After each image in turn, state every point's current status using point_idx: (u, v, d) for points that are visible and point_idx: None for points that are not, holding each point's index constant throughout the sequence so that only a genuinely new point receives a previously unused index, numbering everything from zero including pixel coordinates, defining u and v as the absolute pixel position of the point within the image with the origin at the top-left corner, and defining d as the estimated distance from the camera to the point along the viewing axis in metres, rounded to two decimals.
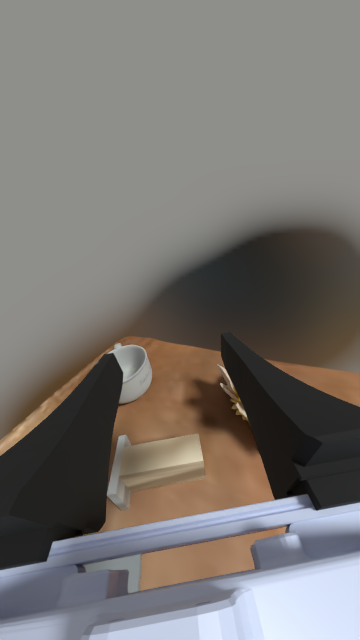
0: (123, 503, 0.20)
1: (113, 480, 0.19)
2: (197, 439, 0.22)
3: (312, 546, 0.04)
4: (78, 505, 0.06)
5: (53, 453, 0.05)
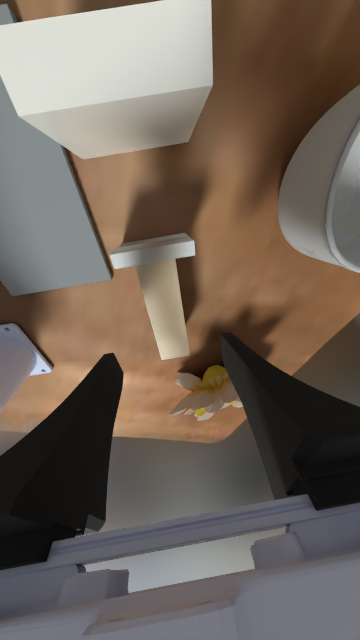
0: None
1: (128, 258, 0.12)
2: (182, 354, 0.18)
3: (312, 546, 0.04)
4: (78, 505, 0.06)
5: (53, 453, 0.05)
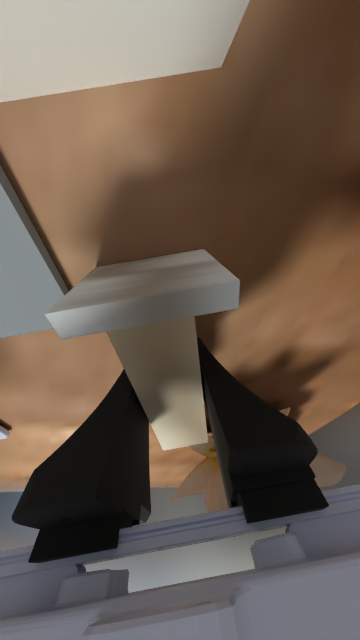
0: None
1: (89, 320, 0.05)
2: (197, 442, 0.11)
3: (312, 546, 0.04)
4: (134, 495, 0.06)
5: (115, 442, 0.05)
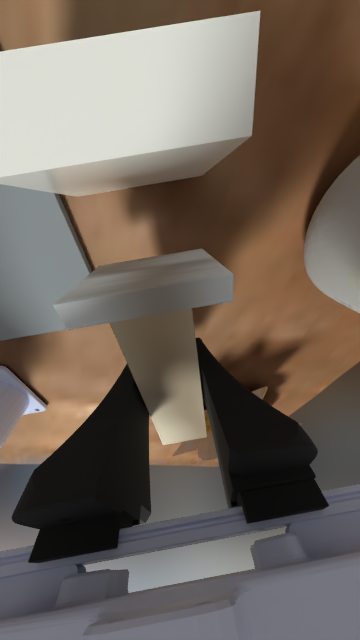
0: None
1: (94, 311, 0.06)
2: (196, 436, 0.11)
3: (312, 546, 0.04)
4: (134, 495, 0.06)
5: (115, 442, 0.05)
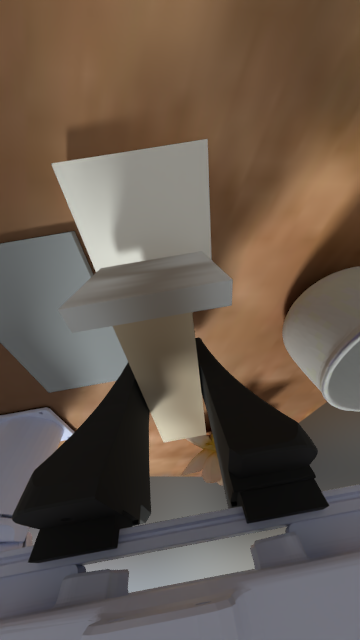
0: None
1: (97, 315, 0.06)
2: (196, 434, 0.12)
3: (312, 546, 0.04)
4: (134, 495, 0.06)
5: (115, 442, 0.05)
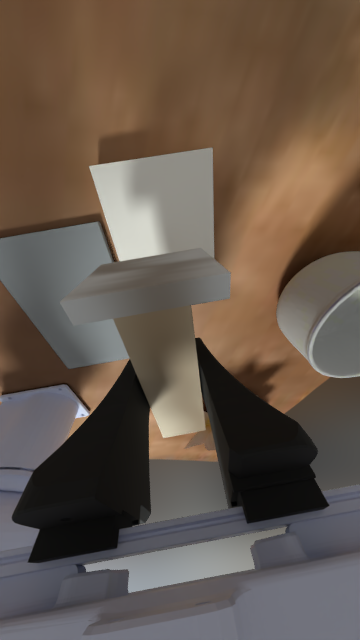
0: None
1: (98, 307, 0.06)
2: (195, 430, 0.12)
3: (312, 546, 0.04)
4: (134, 495, 0.06)
5: (115, 442, 0.05)
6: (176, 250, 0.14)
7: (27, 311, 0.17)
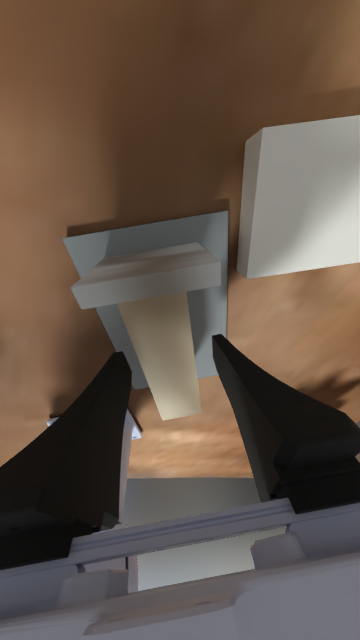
0: None
1: (104, 293, 0.07)
2: (192, 412, 0.13)
3: (312, 546, 0.04)
4: (95, 502, 0.06)
5: (72, 450, 0.05)
6: (322, 250, 0.11)
7: (107, 325, 0.14)
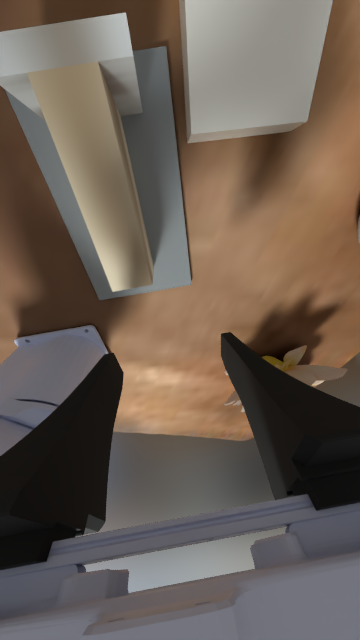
0: (34, 111, 0.10)
1: (10, 52, 0.07)
2: (142, 283, 0.12)
3: (312, 546, 0.04)
4: (78, 505, 0.06)
5: (53, 453, 0.05)
6: (264, 99, 0.11)
7: (59, 203, 0.13)
